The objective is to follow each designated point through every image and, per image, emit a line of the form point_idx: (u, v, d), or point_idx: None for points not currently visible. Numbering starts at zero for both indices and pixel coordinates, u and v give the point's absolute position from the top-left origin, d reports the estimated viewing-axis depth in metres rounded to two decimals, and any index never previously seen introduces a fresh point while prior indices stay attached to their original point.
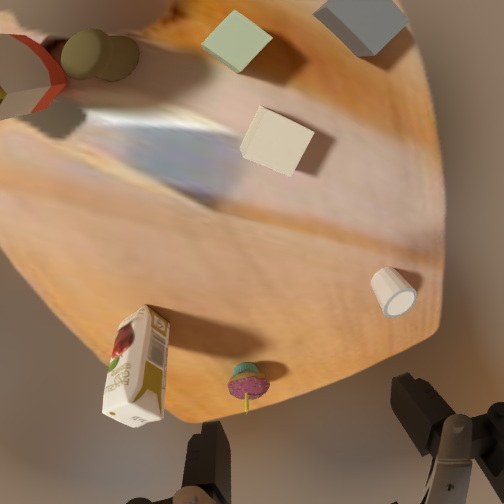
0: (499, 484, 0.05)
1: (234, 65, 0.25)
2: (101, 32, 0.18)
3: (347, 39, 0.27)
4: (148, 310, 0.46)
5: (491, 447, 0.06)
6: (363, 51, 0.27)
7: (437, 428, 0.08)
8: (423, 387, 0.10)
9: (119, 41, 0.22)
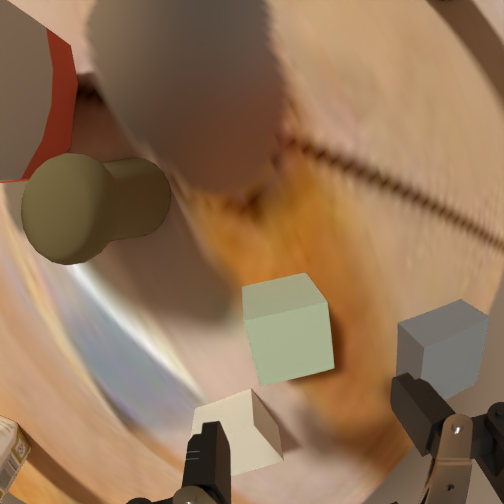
0: (499, 484, 0.05)
1: (259, 374, 0.18)
2: (108, 200, 0.11)
3: None
4: (16, 431, 0.25)
5: (491, 447, 0.06)
6: None
7: (437, 428, 0.08)
8: (423, 387, 0.10)
9: (142, 203, 0.16)
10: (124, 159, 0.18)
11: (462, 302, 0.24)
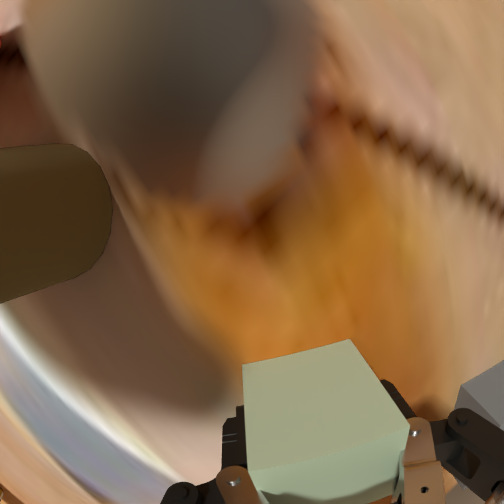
0: (475, 484, 0.05)
1: None
2: None
3: None
4: None
5: (457, 452, 0.07)
6: None
7: None
8: (387, 389, 0.11)
9: (29, 232, 0.06)
10: None
11: None
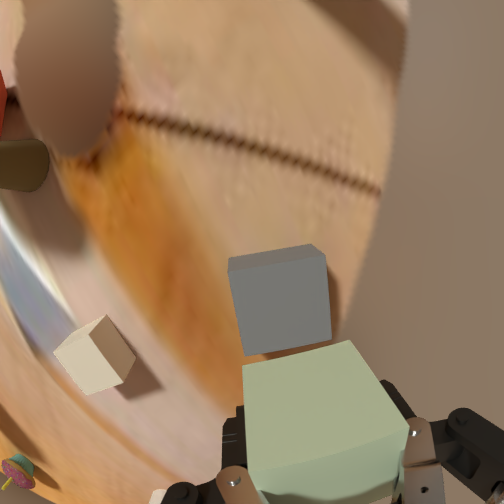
0: (475, 484, 0.05)
1: None
2: None
3: None
4: None
5: (457, 452, 0.07)
6: None
7: None
8: (386, 389, 0.11)
9: (18, 162, 0.20)
10: None
11: (309, 245, 0.28)
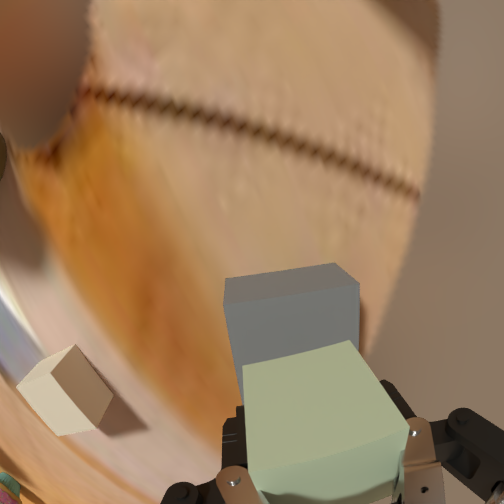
0: (475, 484, 0.05)
1: None
2: None
3: None
4: None
5: (457, 452, 0.07)
6: None
7: None
8: (387, 389, 0.11)
9: None
10: None
11: (333, 265, 0.21)
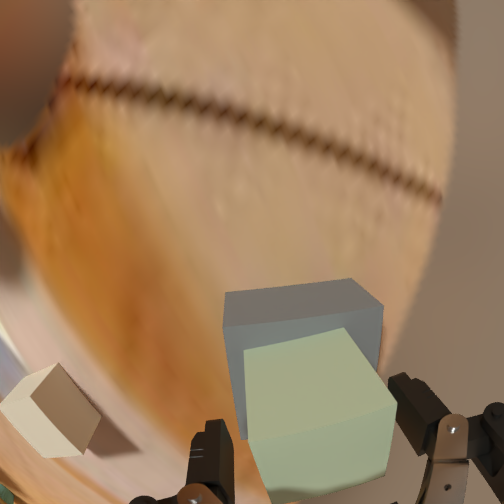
0: (497, 484, 0.05)
1: (272, 496, 0.09)
2: None
3: None
4: None
5: (487, 447, 0.06)
6: None
7: (433, 428, 0.08)
8: (419, 387, 0.10)
9: None
10: None
11: (350, 281, 0.18)
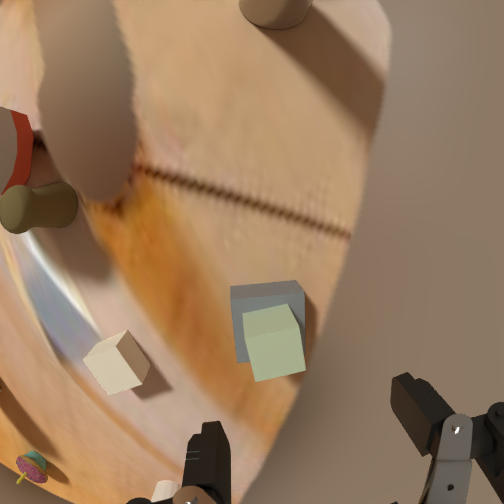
0: (499, 484, 0.05)
1: (255, 374, 0.27)
2: (30, 205, 0.23)
3: None
4: None
5: (491, 447, 0.06)
6: None
7: (437, 428, 0.08)
8: (423, 387, 0.10)
9: (54, 207, 0.28)
10: (52, 184, 0.30)
11: (294, 282, 0.36)
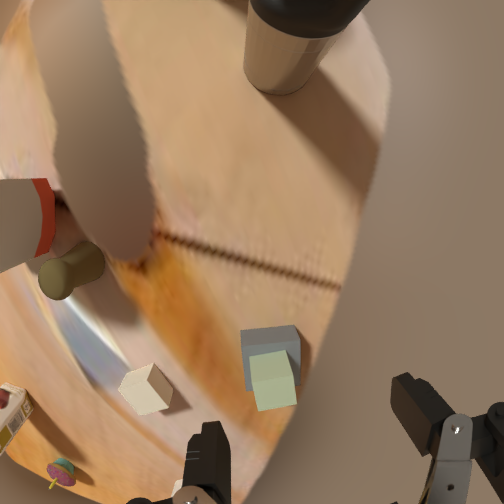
0: (499, 484, 0.05)
1: (258, 406, 0.34)
2: (69, 279, 0.30)
3: None
4: (24, 395, 0.43)
5: (491, 447, 0.06)
6: None
7: (437, 428, 0.08)
8: (423, 387, 0.10)
9: (87, 271, 0.35)
10: (80, 246, 0.37)
11: (292, 327, 0.43)
